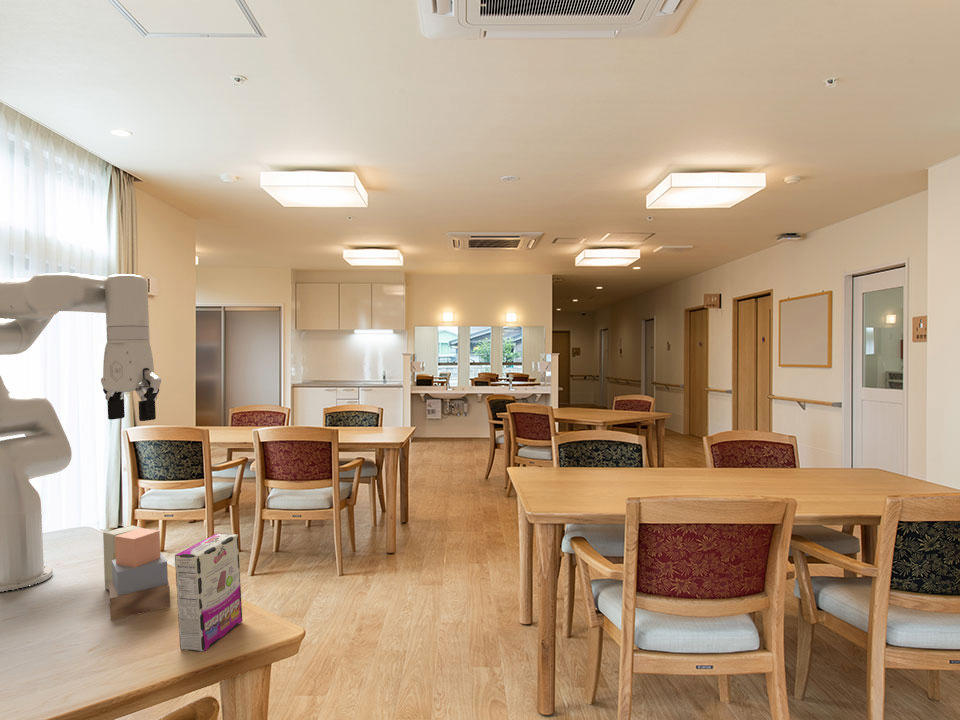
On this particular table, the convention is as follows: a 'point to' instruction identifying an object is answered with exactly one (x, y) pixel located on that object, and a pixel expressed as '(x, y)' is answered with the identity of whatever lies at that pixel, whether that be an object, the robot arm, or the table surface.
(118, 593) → the slate grey top block
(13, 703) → the table surface
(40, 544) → the robot arm
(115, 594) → the walnut base block
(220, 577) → the candy bar box
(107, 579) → the skincare box
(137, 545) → the terracotta cube
